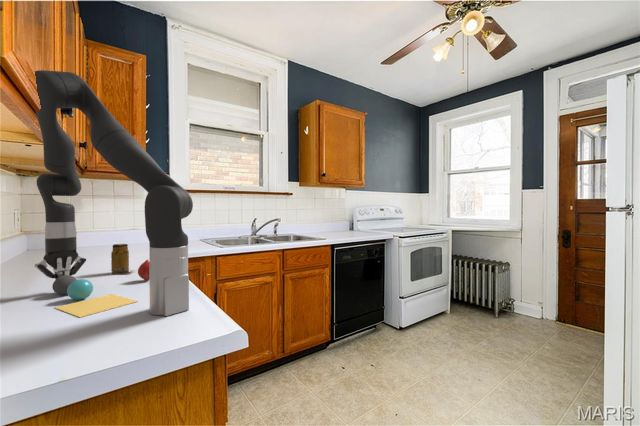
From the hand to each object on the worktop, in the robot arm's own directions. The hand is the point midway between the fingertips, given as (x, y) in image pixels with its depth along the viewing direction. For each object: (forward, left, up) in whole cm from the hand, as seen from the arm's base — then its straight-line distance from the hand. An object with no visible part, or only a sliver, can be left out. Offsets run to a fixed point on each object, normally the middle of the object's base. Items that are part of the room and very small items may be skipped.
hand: (62, 289), depth 93 cm
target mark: (-23, -3, -1) cm, 24 cm away
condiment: (+17, -22, -1) cm, 28 cm away
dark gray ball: (-4, 0, +2) cm, 5 cm away
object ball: (-14, -2, +2) cm, 14 cm away
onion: (-5, -23, -1) cm, 24 cm away
